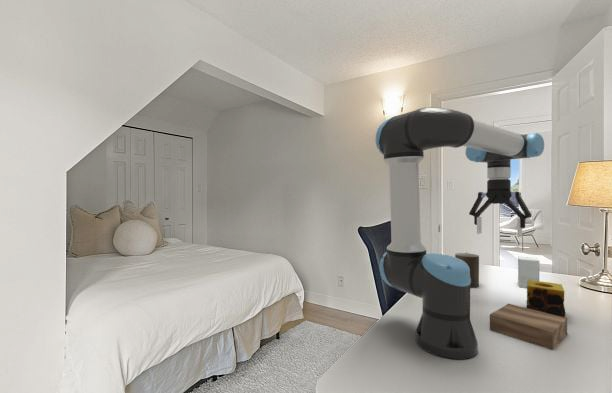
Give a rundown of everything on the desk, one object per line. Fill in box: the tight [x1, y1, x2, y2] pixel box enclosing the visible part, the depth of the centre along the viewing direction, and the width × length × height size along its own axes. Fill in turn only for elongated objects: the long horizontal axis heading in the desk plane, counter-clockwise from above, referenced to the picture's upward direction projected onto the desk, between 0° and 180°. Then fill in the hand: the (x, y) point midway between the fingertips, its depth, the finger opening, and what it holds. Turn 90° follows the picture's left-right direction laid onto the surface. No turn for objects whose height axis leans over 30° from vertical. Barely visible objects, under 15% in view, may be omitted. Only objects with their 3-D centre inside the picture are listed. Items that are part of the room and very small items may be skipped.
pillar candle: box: [454, 252, 480, 289], centre depth 137 cm, size 10×10×15 cm
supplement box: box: [517, 256, 540, 289], centre depth 135 cm, size 7×7×13 cm
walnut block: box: [489, 303, 568, 350], centre depth 90 cm, size 15×15×5 cm
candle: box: [525, 280, 566, 318], centre depth 103 cm, size 10×10×10 cm
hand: (498, 235), depth 115 cm, fingers open, 13 cm apart
